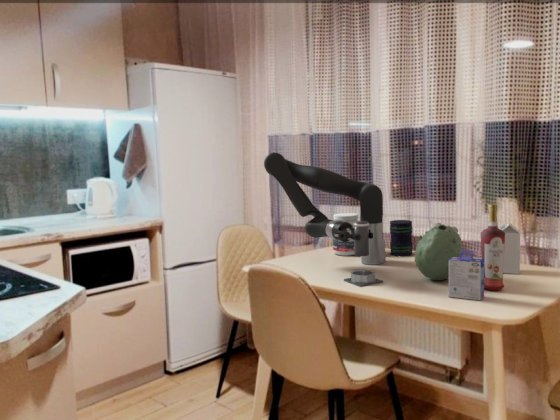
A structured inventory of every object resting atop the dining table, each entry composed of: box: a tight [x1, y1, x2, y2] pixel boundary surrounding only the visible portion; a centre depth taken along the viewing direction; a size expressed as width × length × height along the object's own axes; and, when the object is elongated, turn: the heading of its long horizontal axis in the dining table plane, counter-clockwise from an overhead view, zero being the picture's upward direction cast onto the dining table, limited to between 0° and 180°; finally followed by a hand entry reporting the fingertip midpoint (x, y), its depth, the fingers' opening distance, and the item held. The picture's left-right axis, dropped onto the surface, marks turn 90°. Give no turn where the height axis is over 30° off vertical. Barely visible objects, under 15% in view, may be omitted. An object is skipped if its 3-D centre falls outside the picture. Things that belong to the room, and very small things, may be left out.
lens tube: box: [354, 220, 369, 257], centre depth 175 cm, size 5×5×12 cm
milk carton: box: [498, 219, 521, 275], centre depth 179 cm, size 7×7×19 cm
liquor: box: [480, 203, 505, 292], centre depth 158 cm, size 7×7×28 cm
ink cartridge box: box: [448, 250, 485, 301], centre depth 152 cm, size 10×6×14 cm, turn 58°
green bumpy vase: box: [414, 222, 464, 281], centre depth 173 cm, size 16×19×20 cm
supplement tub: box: [332, 212, 359, 257], centre depth 225 cm, size 13×13×18 cm
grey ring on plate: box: [343, 269, 384, 287], centre depth 176 cm, size 10×10×3 cm
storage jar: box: [389, 219, 414, 257], centre depth 218 cm, size 10×10×15 cm
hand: (365, 236), depth 172 cm, fingers closed on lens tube, 5 cm apart
